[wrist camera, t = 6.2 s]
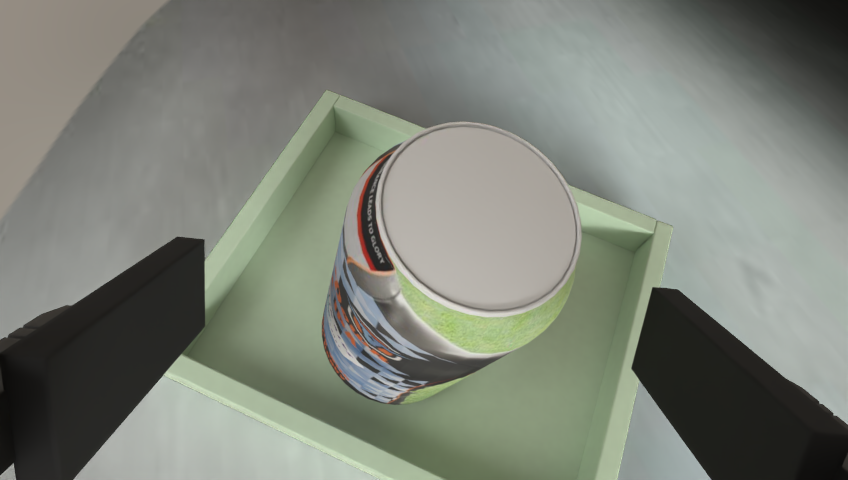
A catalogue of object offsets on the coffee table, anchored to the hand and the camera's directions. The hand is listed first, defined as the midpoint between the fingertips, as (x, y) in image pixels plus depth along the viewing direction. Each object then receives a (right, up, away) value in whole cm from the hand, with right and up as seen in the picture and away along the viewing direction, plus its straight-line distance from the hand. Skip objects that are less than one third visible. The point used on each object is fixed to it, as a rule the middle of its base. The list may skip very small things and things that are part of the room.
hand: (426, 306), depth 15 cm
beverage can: (-1, -2, +7) cm, 8 cm away
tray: (0, -1, +8) cm, 8 cm away
